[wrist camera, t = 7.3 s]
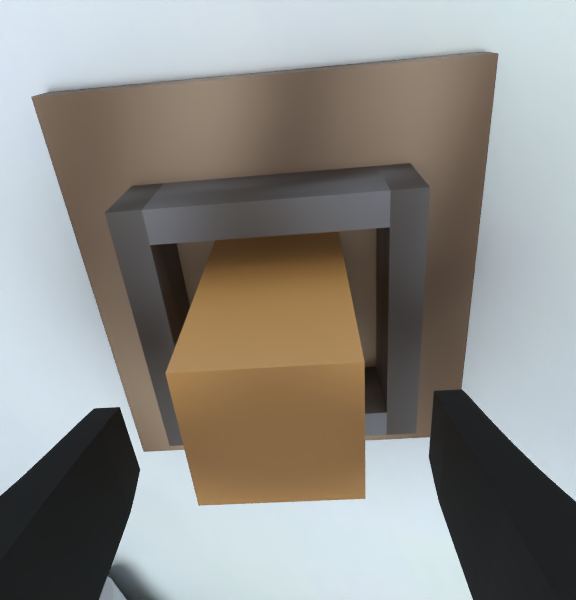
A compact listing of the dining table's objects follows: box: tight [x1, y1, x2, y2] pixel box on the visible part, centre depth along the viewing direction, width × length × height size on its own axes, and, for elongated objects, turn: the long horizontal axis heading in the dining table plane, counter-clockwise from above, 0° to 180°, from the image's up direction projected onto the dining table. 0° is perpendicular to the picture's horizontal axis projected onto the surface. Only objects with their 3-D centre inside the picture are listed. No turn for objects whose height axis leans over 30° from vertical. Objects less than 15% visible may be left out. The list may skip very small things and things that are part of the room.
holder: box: [32, 52, 498, 452], centre depth 16 cm, size 13×14×4 cm
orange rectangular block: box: [165, 232, 365, 505], centre depth 14 cm, size 4×4×7 cm
